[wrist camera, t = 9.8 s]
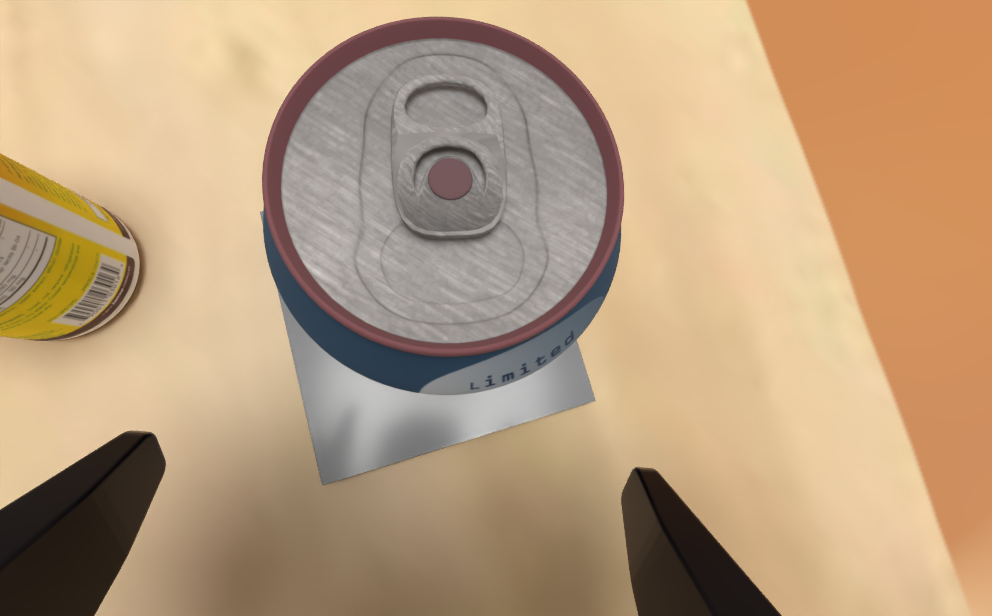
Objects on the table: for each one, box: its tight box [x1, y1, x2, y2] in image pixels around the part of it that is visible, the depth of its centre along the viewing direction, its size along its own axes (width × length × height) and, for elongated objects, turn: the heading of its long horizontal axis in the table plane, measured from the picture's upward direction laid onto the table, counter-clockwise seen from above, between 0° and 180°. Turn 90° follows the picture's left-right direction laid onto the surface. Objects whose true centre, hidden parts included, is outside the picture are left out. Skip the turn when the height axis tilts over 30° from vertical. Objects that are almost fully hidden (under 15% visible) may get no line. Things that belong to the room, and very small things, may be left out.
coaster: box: [260, 211, 596, 485], centre depth 19 cm, size 11×11×1 cm
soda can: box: [262, 17, 624, 395], centre depth 13 cm, size 7×7×12 cm
